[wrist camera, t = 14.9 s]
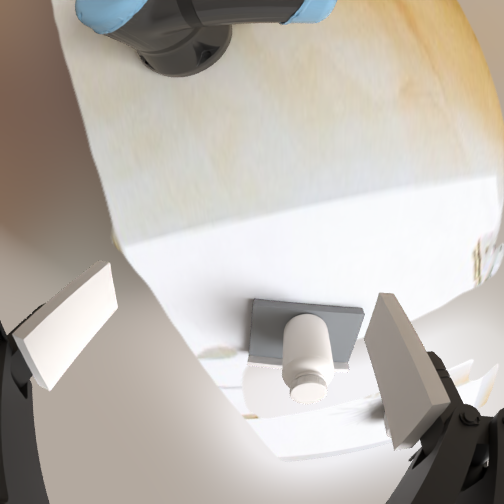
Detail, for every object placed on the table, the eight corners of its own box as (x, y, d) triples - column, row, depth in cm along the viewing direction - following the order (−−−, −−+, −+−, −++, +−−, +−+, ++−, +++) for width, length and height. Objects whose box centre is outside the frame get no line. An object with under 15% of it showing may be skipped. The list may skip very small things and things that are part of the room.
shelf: (254, 298, 49) (251, 311, 46) (362, 308, 48) (367, 320, 44) (249, 353, 55) (247, 367, 51) (344, 361, 53) (347, 374, 49)
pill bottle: (276, 339, 50) (272, 403, 36) (294, 306, 47) (295, 369, 33) (315, 351, 50) (320, 413, 36) (334, 319, 47) (348, 382, 33)
